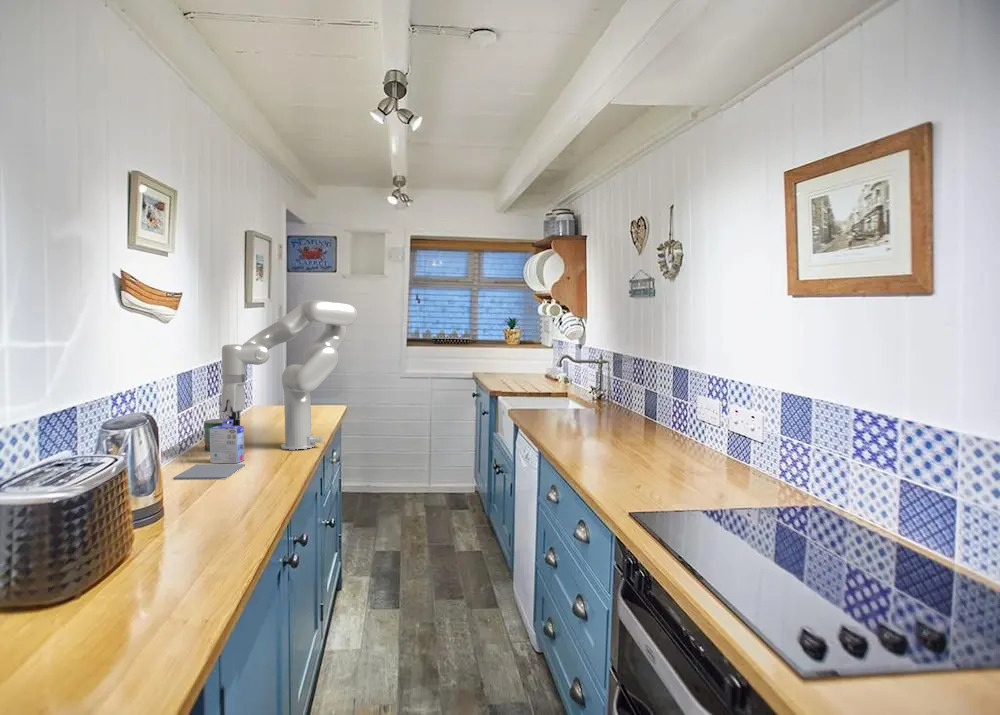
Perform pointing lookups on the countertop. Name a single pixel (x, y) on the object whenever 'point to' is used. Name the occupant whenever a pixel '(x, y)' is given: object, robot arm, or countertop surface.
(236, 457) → the ink cartridge box
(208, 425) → the canned tomato
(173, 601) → the countertop surface
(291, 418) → the robot arm
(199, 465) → the mat
